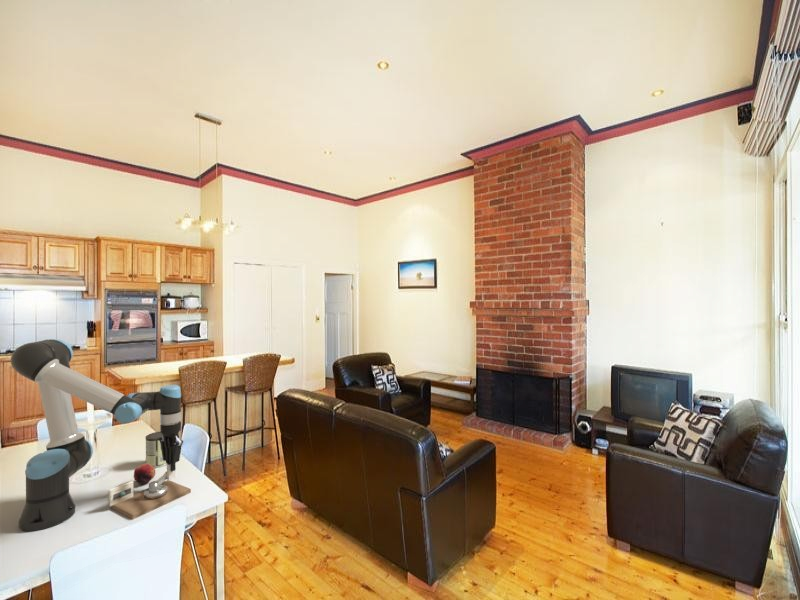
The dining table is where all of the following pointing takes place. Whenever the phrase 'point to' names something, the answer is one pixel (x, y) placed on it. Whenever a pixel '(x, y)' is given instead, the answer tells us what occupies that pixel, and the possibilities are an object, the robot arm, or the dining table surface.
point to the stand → (142, 498)
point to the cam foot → (156, 488)
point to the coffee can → (154, 450)
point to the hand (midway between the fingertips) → (171, 478)
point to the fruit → (144, 473)
